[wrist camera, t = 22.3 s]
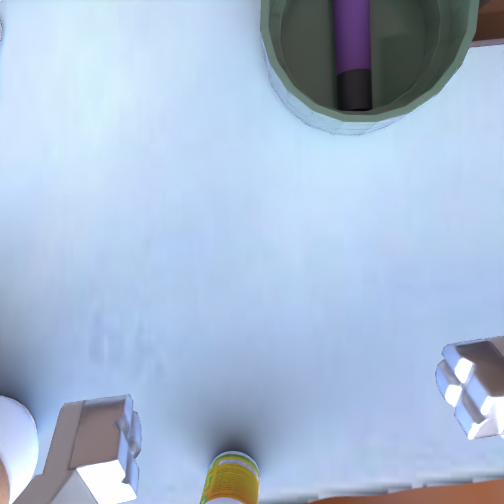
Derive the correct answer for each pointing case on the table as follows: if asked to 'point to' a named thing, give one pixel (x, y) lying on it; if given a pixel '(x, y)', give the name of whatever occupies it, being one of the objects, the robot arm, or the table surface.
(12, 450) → the lidded bowl
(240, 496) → the supplement bottle
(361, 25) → the glue stick
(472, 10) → the bowl
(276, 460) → the table surface
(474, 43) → the stand
